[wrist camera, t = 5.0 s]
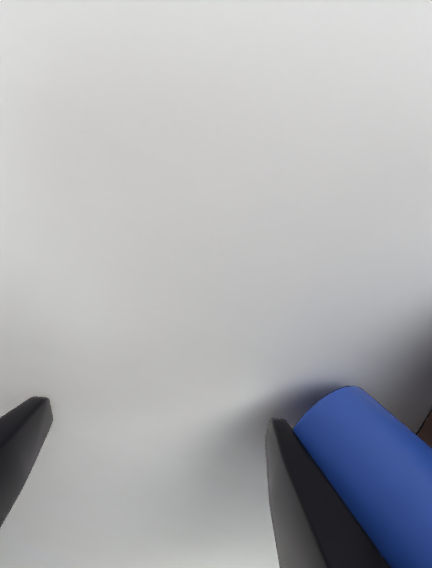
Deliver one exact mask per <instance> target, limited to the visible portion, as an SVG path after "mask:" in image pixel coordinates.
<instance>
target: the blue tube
mask: <svg viewBox="0 0 432 568" xmlns="http://www.w3.org/2000/svg"><path fill="white" fill-rule="evenodd" d="M292 430H293V431H294V432H295V434H296V435H297V437H298V438H299V439H300V441H301V442H302V444H303V445H304V446H305V448H306V449H307V451H308V452H309V453H310V455H311V456H312V458H313V459H314V460H315V462H316V463H317V465H318V466H319V467H320V469H321V470H322V472H323V473H324V474H325V476H326V477H327V479H328V480H329V481H330V483H331V484H332V485H333V487H334V488H335V490H336V491H337V492H338V494H339V495H340V497H341V498H342V499H343V501H344V502H345V504H346V505H347V506H348V508H349V509H350V511H351V512H352V513H353V515H354V516H355V518H356V519H357V520H358V522H359V523H360V525H361V526H362V527H363V529H364V530H365V532H366V533H367V534H368V536H369V537H370V539H371V540H372V541H373V543H374V544H375V546H376V547H377V548H378V550H379V551H380V553H381V556H383V557H384V558H385V559H386V561H387V562H388V563H389V565H390V566H391V568H432V448H431V447H430V446H428V445H427V444H426V443H425V442H424V441H423V440H421V439H420V438H419V437H418V436H417V435H416V434H414V433H413V432H412V431H411V430H410V429H408V428H407V427H406V426H405V425H404V424H403V423H401V422H400V421H399V420H398V419H397V418H396V417H394V416H393V415H392V414H391V413H390V412H389V411H387V410H386V409H385V408H384V407H383V406H381V405H380V404H379V403H378V402H377V401H376V400H374V399H373V398H372V397H371V396H370V395H369V394H367V393H366V392H365V391H364V390H363V389H361V388H359V387H357V386H347V387H343V388H340V389H338V390H335V391H333V392H332V393H330V394H328V395H327V396H325V397H324V398H322V399H321V400H319V401H318V402H317V403H316V404H315V405H313V406H312V407H311V408H310V409H309V410H308V411H307V412H306V413H305V414H304V415H303V416H302V417H301V419H300V420H299V421H298V422H297V424H296V425H295V426H294V428H293V429H292Z"/></svg>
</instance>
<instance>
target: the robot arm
mask: <svg viewBox="0 0 432 568" xmlns="http://www.w3.org/2000/svg"><path fill="white" fill-rule="evenodd" d="M52 421H53V415H52V410H51V405H50V401H49V399H48V398H46V397H37V396H36V397H32V398H30V399H28V400H27V401H25V402H23V403H22V404H20V405H19V406H17V407H16V408H14V409H13V410H11V411H10V412H8V413H7V414H5V415H4V416H2V417H1V418H0V527H1V526H2V524H3V522H4V520H5V519H6V517H7V515H8V513H9V511H10V510H11V508H12V506H13V504H14V503H15V501H16V499H17V497H18V495H19V494H20V492H21V490H22V488H23V486H24V484H25V482H26V480H27V478H28V476H29V474H30V472H31V470H32V467H33V465H34V463H35V461H36V458H37V456H38V454H39V452H40V449H41V447H42V445H43V443H44V441H45V438H46V436H47V434H48V432H49V429H50V427H51V425H52ZM265 449H266V463H267V478H268V492H269V503H270V511H271V517H272V523H273V529H274V535H275V541H276V547H277V553H278V559H279V565H280V568H391V566H390V565H389V563H388V562H387V561H386V559H385V558H384V557H383V556H381V553H380V551H379V550H378V548H377V547H376V546H375V544H374V543H373V541H372V540H371V539H370V537H369V536H368V534H367V533H366V532H365V530H364V529H363V527H362V526H361V525H360V523H359V522H358V520H357V519H356V518H355V516H354V515H353V513H352V512H351V511H350V509H349V508H348V506H347V505H346V504H345V502H344V501H343V499H342V498H341V497H340V495H339V494H338V492H337V491H336V490H335V488H334V487H333V485H332V484H331V483H330V481H329V480H328V479H327V477H326V476H325V474H324V473H323V472H322V470H321V469H320V467H319V466H318V465H317V463H316V462H315V460H314V459H313V458H312V456H311V455H310V453H309V452H308V451H307V449H306V448H305V446H304V445H303V444H302V442H301V441H300V439H299V438H298V437H297V435H296V434H295V432H294V431H293V430H292V428H291V427H290V425H289V424H288V423H287V421H286V420H284V419H281V418H271V419H270V422H269V425H268V429H267V433H266V437H265Z"/></svg>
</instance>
